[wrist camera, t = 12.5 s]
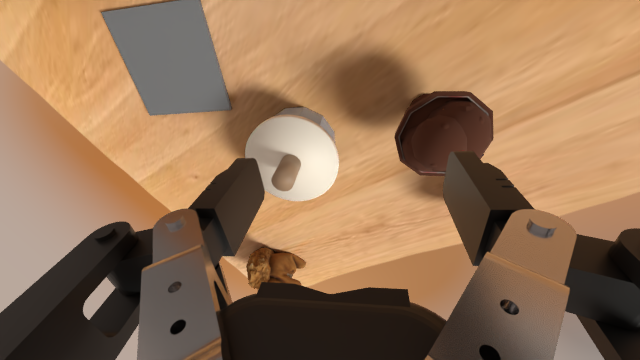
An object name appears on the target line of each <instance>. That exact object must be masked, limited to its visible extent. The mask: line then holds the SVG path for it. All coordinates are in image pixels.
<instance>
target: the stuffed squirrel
mask: <svg viewBox="0 0 640 360" xmlns="http://www.w3.org/2000/svg"><path fill="white" fill-rule="evenodd" d="M249 258H250V259H249V260H248V264H247V266H246V267H247V272H248V280H249V285H251V287H253V288H254V289H255V288H257V289H259V287H260V284H261V282H274V283H293V284H298V285H301V283H300V282H299V281H298V280H295V279H292V276H293V274H294V273H295V271H296V268H298V269H301V268H304V267H305V266H306V262H305V261H304V260H302V259H301V258H299V257H297V256H296V255H294V254H291V253H276V254H274V251H272V250H270V249H268V248H260V249H259V250H257V251H254V252H253V253H252V254H250V257H249Z"/></svg>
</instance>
